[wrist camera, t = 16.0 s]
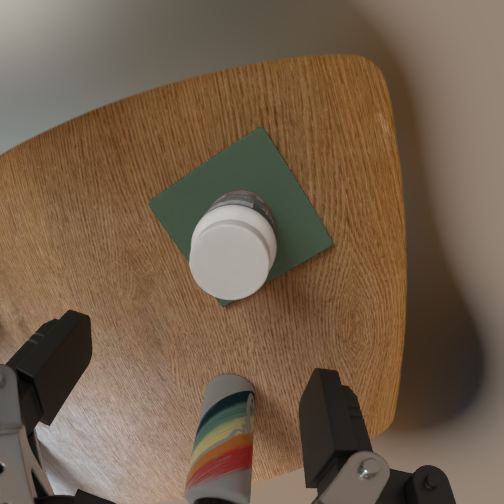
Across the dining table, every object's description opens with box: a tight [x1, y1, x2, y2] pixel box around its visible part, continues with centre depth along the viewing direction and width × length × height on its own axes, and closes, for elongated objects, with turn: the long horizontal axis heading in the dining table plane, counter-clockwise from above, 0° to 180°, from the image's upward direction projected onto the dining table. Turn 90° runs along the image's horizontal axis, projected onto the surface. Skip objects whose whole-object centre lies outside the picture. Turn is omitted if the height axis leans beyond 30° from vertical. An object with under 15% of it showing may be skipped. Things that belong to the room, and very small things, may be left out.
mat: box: [148, 126, 334, 307], centre depth 28 cm, size 12×12×1 cm
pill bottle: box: [189, 191, 277, 300], centre depth 23 cm, size 6×6×10 cm
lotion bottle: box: [184, 374, 255, 504], centre depth 26 cm, size 6×6×20 cm
